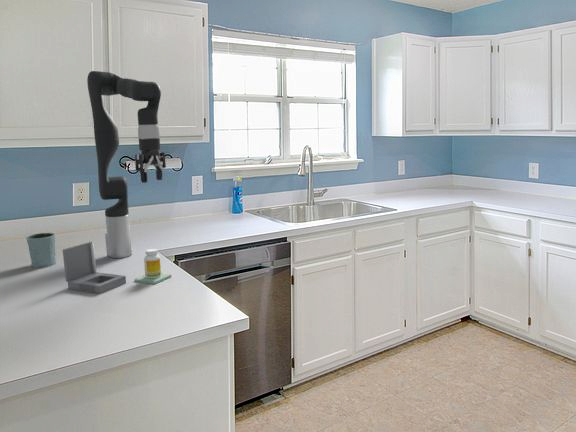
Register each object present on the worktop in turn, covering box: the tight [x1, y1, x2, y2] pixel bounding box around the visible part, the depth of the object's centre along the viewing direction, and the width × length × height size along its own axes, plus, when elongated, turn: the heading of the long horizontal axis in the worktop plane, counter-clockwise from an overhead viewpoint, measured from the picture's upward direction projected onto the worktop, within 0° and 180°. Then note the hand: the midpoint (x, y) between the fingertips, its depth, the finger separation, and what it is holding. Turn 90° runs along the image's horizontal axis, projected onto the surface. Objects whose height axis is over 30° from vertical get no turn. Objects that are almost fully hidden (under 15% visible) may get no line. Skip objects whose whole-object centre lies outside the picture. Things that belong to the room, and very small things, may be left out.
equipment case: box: [62, 241, 127, 295], centre depth 167 cm, size 15×12×14 cm
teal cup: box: [26, 232, 57, 269], centre depth 195 cm, size 10×10×12 cm
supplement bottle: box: [143, 248, 162, 278], centre depth 174 cm, size 5×5×10 cm
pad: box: [134, 272, 172, 285], centre depth 174 cm, size 9×9×1 cm
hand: (152, 181), depth 185 cm, fingers open, 8 cm apart
